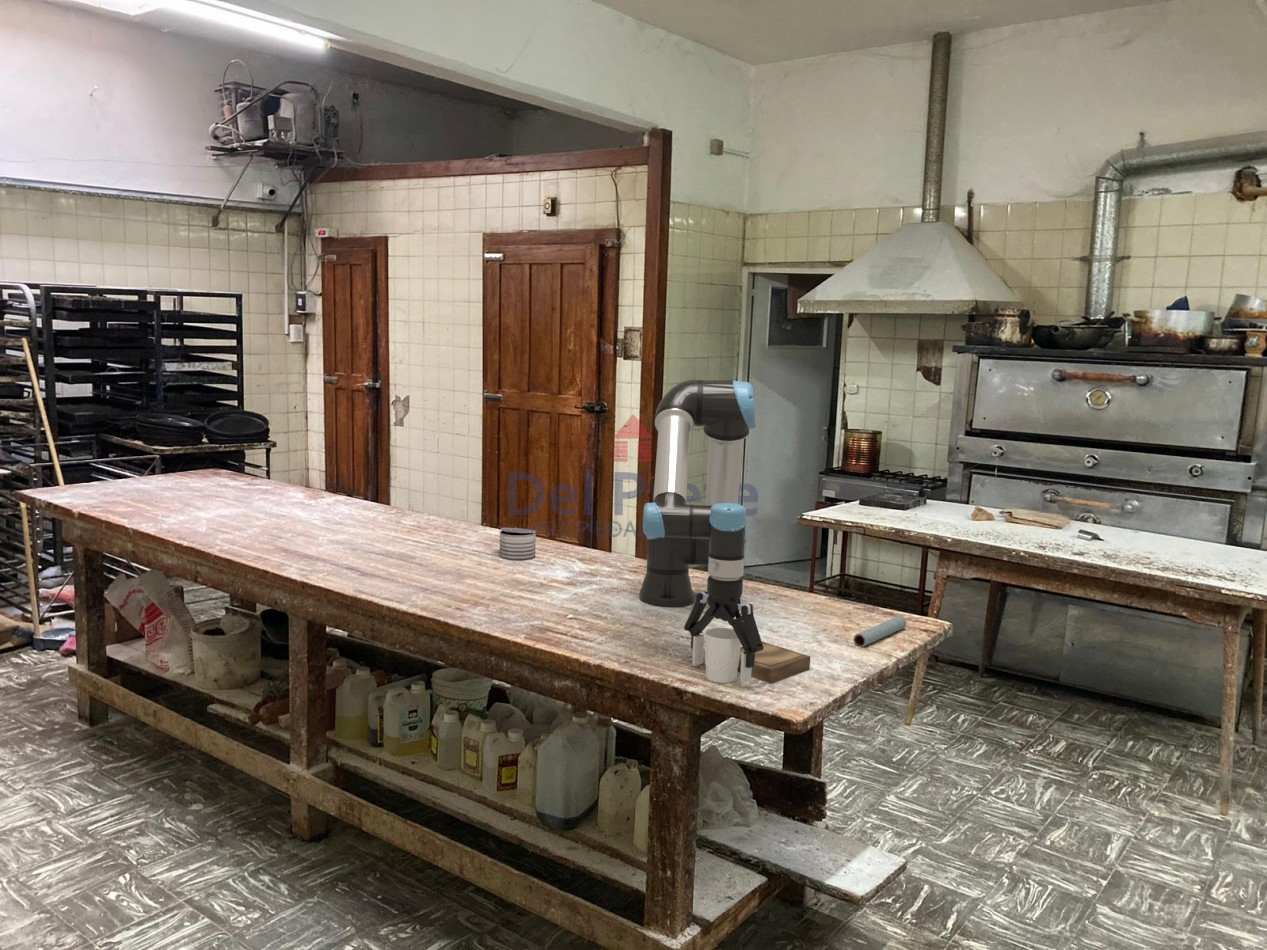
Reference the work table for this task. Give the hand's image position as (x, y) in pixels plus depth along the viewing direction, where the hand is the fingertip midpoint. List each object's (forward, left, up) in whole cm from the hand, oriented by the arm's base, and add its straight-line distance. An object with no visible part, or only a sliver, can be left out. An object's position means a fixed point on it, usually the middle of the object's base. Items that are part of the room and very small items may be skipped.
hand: (720, 672), depth 203 cm
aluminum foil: (+7, +55, -2) cm, 56 cm away
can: (-108, +27, -2) cm, 111 cm away
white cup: (0, 0, -2) cm, 2 cm away
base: (+2, +13, -1) cm, 13 cm away
